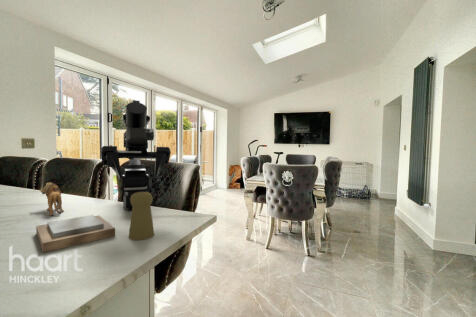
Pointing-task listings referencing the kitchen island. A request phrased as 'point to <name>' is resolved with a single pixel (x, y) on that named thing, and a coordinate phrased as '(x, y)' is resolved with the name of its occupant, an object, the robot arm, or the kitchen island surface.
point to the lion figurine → (53, 197)
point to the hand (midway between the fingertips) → (138, 177)
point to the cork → (141, 216)
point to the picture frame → (73, 232)
